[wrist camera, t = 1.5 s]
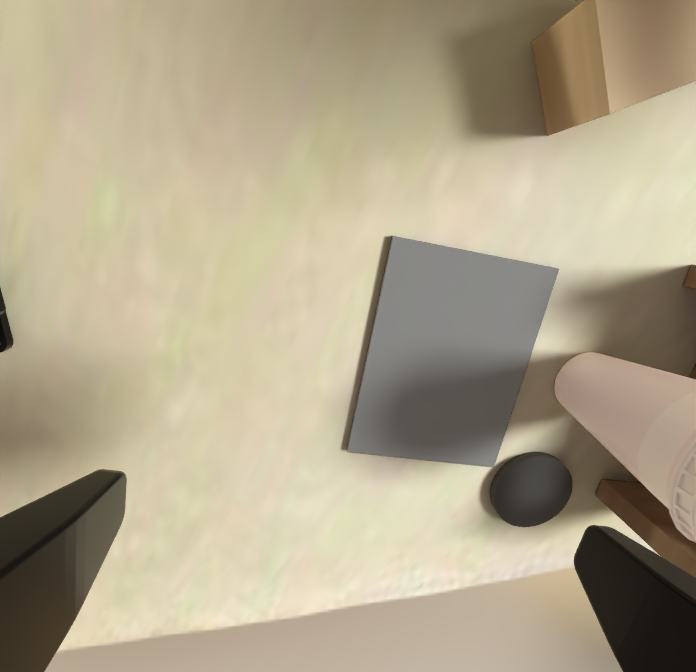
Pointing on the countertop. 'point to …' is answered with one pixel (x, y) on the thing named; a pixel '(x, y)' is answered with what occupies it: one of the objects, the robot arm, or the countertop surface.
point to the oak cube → (613, 57)
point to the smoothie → (639, 424)
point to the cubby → (651, 508)
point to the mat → (447, 353)
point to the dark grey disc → (531, 489)
